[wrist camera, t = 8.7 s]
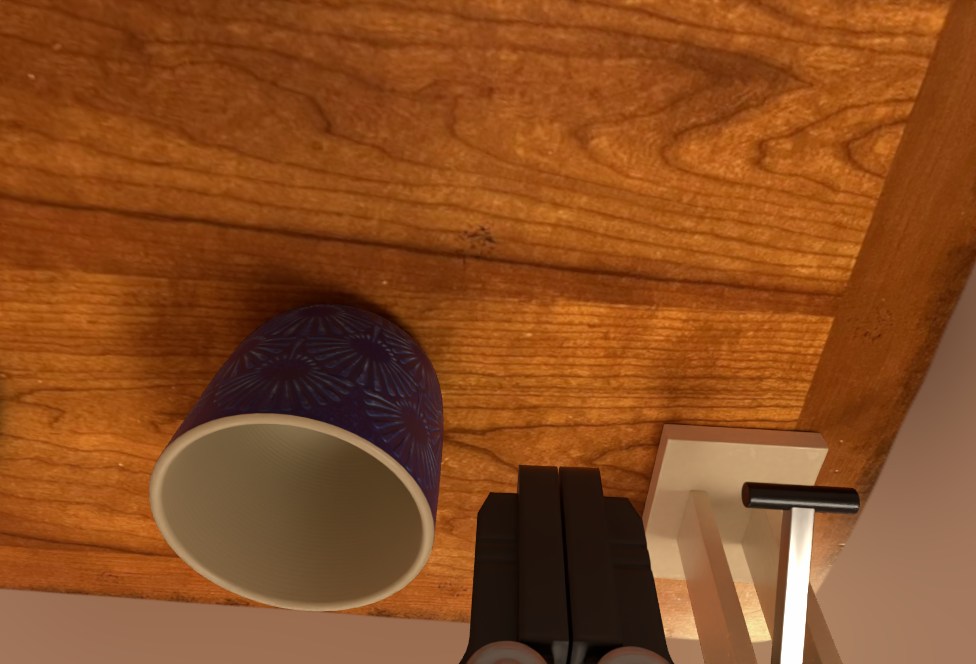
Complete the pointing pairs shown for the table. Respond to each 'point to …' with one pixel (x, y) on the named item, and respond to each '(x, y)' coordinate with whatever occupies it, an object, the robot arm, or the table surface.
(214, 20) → the table surface
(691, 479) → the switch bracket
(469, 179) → the table surface
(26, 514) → the table surface
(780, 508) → the lever
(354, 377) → the planter
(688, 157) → the table surface
